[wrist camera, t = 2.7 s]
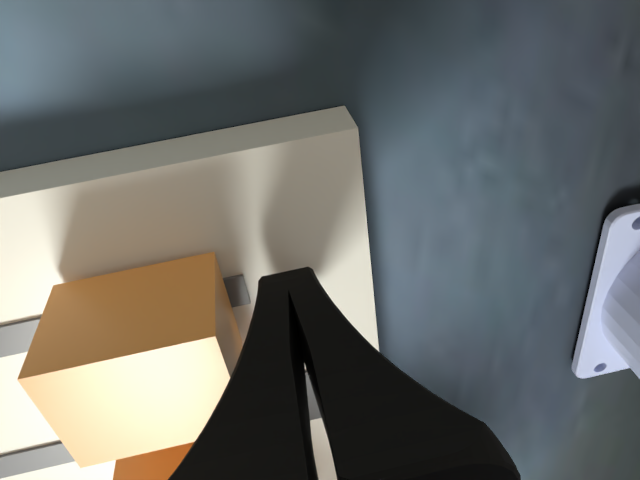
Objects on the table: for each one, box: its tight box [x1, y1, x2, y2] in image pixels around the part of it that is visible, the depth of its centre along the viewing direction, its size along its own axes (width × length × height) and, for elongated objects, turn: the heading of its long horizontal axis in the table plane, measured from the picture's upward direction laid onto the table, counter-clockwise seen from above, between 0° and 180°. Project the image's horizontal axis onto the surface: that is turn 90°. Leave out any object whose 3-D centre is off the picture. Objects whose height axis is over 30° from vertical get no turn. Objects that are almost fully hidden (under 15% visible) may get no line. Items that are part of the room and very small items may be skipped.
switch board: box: [0, 106, 379, 480], centre depth 17 cm, size 20×18×2 cm
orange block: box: [17, 252, 242, 468], centre depth 13 cm, size 4×3×3 cm
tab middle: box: [113, 442, 194, 480], centre depth 16 cm, size 4×3×3 cm
